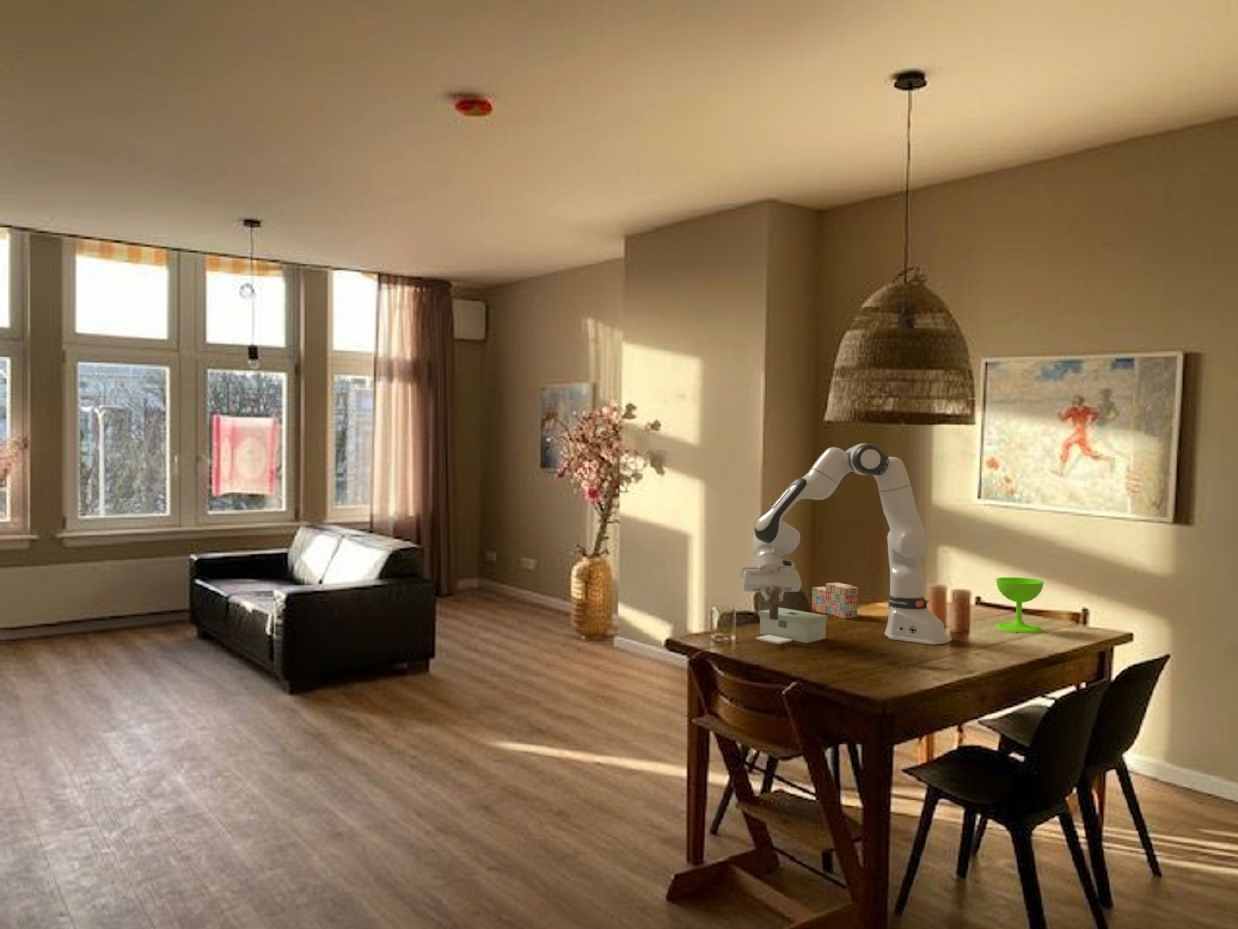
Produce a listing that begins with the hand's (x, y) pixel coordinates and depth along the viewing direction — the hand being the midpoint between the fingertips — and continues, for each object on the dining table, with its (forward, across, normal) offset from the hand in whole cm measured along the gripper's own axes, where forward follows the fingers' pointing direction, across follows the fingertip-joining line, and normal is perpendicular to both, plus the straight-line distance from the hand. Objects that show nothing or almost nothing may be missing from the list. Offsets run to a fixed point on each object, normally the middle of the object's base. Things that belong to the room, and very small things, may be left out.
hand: (774, 600), depth 312 cm
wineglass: (-4, +95, +23) cm, 98 cm away
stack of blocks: (-25, +35, +45) cm, 62 cm away
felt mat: (+9, 0, +10) cm, 14 cm away
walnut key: (+4, 0, +5) cm, 7 cm away
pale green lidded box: (+5, +8, +15) cm, 18 cm away
